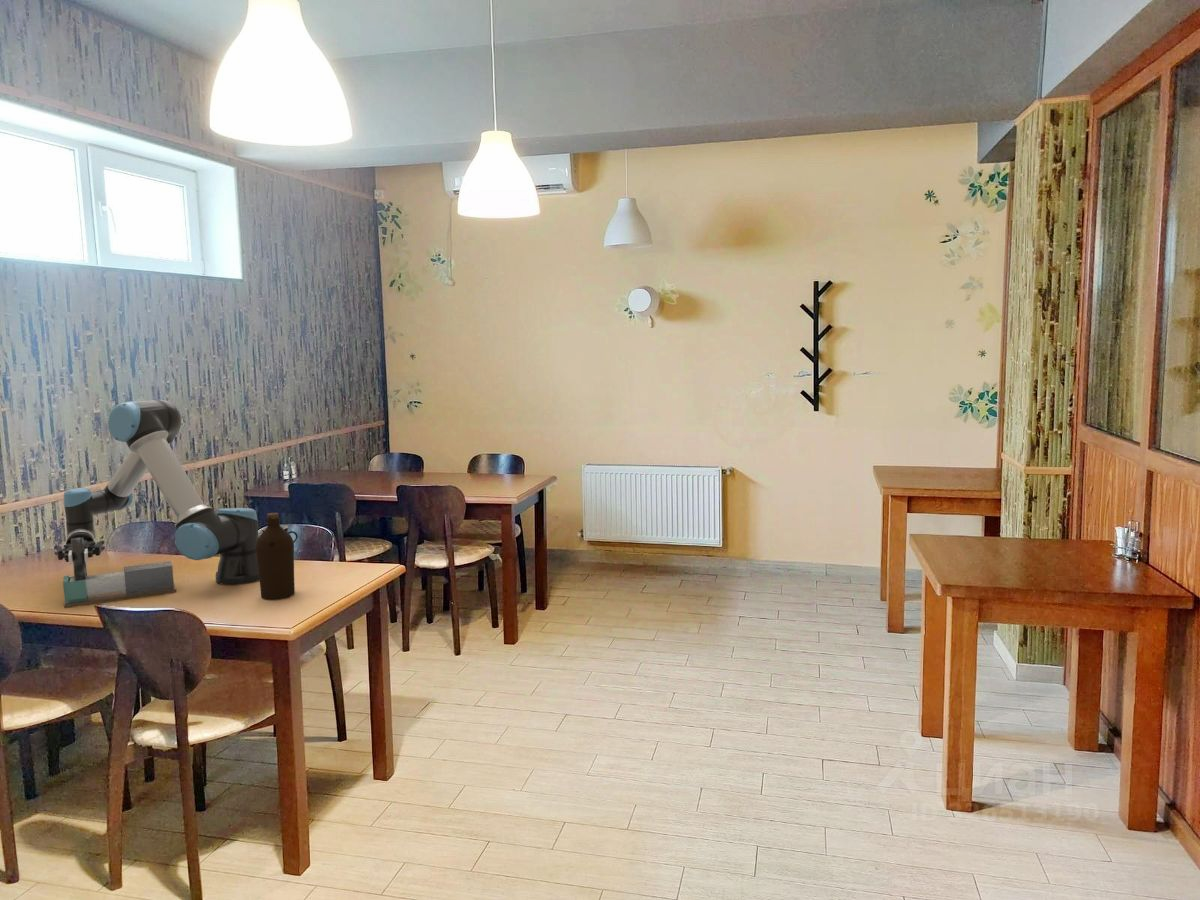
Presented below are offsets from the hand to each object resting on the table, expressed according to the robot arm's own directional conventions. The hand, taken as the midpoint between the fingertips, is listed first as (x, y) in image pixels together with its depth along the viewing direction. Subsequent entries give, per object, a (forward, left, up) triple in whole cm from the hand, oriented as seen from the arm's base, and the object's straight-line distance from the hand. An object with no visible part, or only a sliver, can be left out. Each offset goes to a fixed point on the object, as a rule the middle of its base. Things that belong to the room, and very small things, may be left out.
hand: (78, 558), depth 242 cm
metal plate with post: (+1, -7, -12) cm, 14 cm away
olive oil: (-48, -27, -14) cm, 57 cm away
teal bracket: (+5, -2, -13) cm, 14 cm away
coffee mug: (-13, -66, -14) cm, 68 cm away
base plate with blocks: (-2, -11, -14) cm, 18 cm away
